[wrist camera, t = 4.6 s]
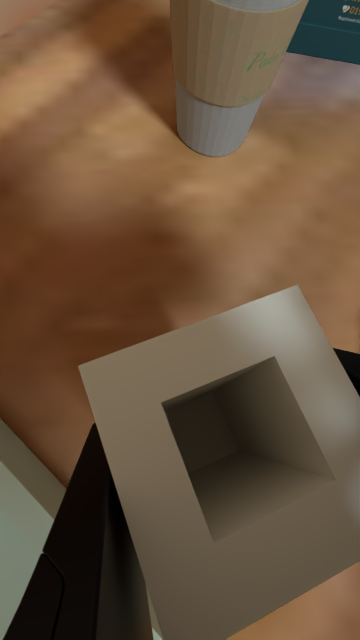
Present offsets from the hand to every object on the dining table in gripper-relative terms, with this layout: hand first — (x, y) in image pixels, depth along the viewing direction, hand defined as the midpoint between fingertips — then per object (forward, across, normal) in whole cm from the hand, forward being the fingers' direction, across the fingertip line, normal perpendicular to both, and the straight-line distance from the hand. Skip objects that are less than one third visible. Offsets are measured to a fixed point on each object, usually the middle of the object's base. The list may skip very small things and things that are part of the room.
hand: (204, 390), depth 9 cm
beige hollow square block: (+4, 0, +6) cm, 7 cm away
